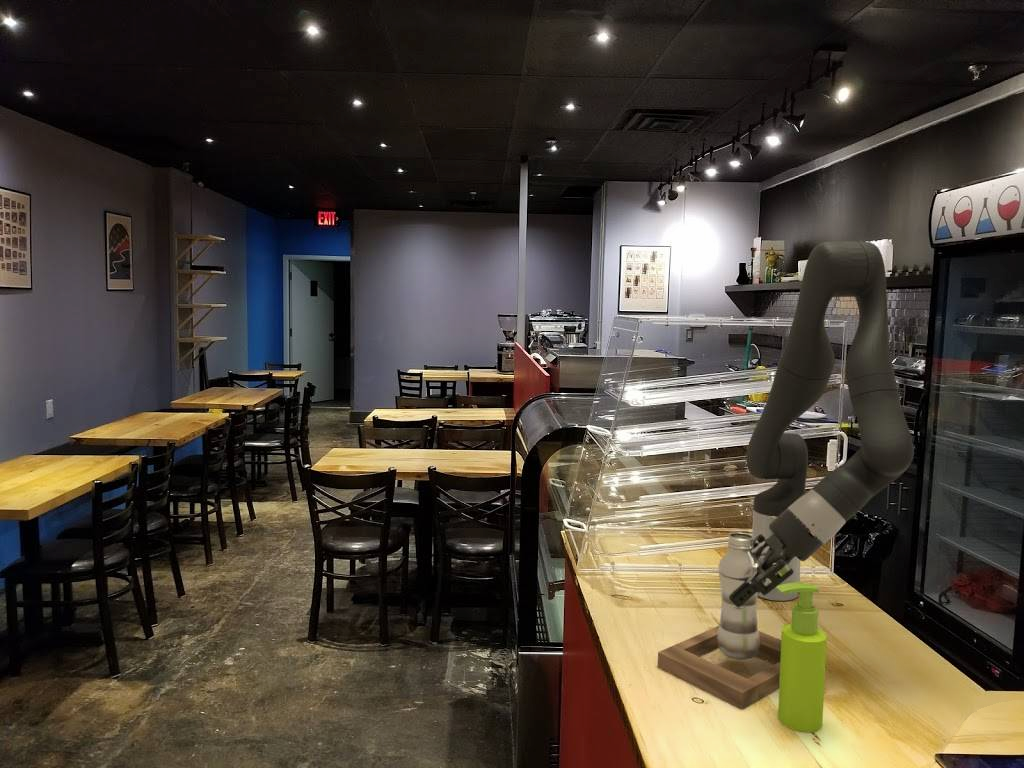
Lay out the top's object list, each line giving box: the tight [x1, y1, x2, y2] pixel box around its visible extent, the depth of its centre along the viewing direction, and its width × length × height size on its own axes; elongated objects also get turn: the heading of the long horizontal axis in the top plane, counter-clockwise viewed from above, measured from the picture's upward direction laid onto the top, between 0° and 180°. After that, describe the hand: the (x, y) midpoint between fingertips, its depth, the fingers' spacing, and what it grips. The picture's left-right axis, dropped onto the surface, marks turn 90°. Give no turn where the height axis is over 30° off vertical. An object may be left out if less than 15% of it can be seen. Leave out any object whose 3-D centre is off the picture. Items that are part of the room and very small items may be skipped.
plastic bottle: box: [717, 532, 760, 661], centre depth 117 cm, size 6×7×20 cm
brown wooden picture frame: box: [657, 625, 781, 710], centre depth 118 cm, size 20×16×2 cm
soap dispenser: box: [776, 582, 828, 733], centre depth 102 cm, size 6×7×20 cm
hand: (729, 594), depth 117 cm, fingers closed on plastic bottle, 6 cm apart
